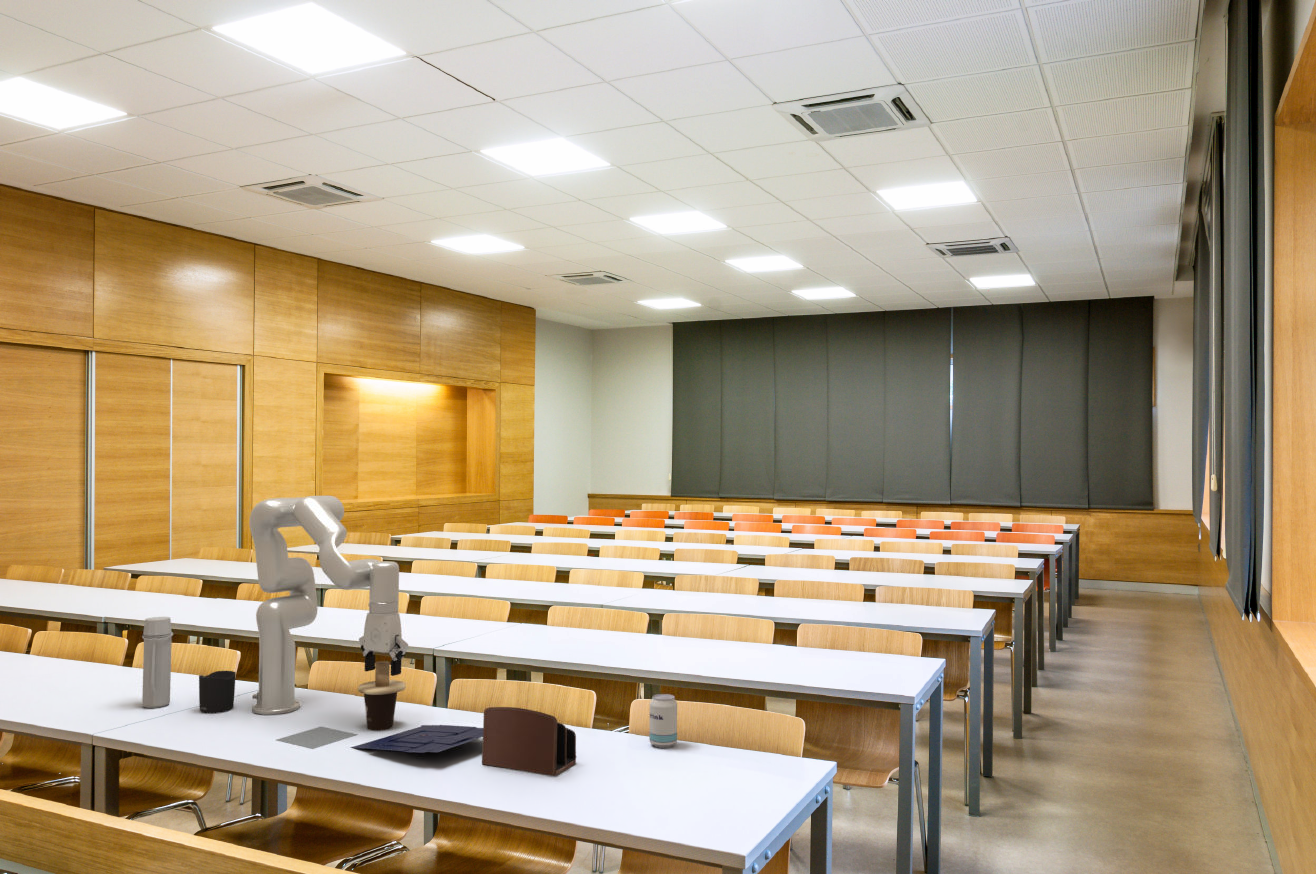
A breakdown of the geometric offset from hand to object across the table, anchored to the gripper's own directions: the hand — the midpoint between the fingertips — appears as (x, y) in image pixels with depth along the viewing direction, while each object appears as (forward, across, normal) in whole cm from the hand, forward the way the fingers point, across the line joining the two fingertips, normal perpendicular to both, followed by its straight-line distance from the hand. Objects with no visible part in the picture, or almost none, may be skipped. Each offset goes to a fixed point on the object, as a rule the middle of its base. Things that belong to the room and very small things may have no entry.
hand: (382, 672), depth 241 cm
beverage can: (+14, +72, +25) cm, 78 cm away
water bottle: (+15, -71, -19) cm, 75 cm away
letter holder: (+15, +52, -4) cm, 55 cm away
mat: (+14, -6, -16) cm, 22 cm away
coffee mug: (+14, 0, 0) cm, 14 cm away
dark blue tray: (+15, +23, -6) cm, 28 cm away
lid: (+4, 0, 0) cm, 4 cm away
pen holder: (+15, -53, -12) cm, 56 cm away
